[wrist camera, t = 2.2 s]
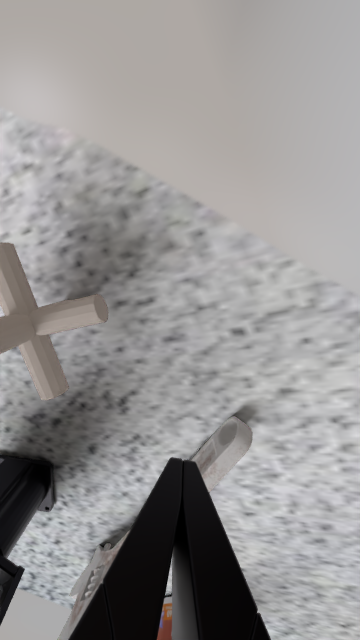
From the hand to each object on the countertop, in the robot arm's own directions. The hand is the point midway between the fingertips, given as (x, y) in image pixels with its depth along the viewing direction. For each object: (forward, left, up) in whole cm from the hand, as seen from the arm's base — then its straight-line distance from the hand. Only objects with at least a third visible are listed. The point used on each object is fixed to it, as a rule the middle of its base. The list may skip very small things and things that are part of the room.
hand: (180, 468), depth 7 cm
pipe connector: (+1, +10, -13) cm, 17 cm away
